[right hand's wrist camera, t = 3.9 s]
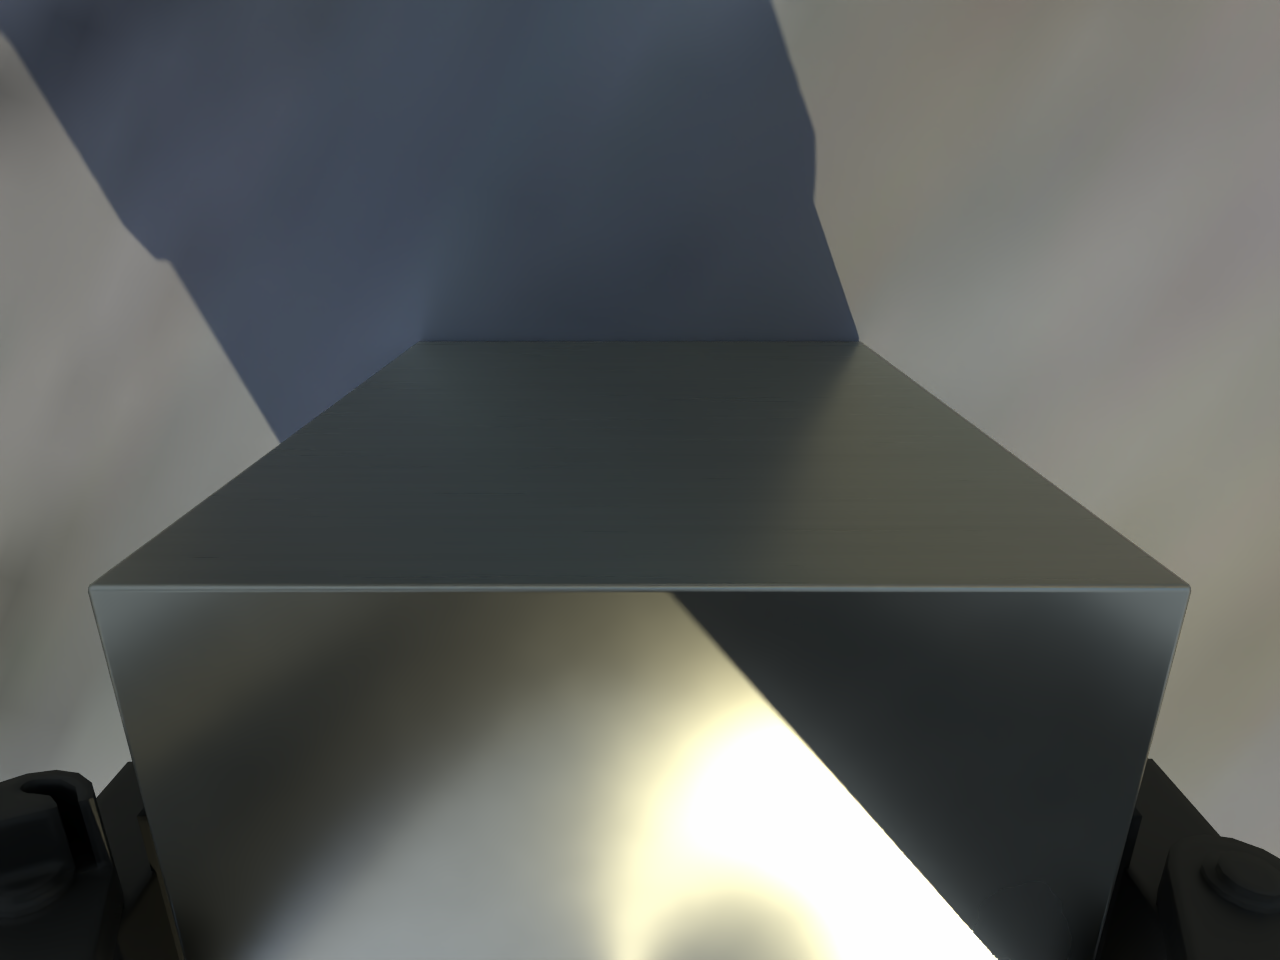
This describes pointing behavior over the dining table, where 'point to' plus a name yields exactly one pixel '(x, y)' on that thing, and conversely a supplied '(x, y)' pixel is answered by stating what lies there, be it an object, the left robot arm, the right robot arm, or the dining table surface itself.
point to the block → (639, 671)
